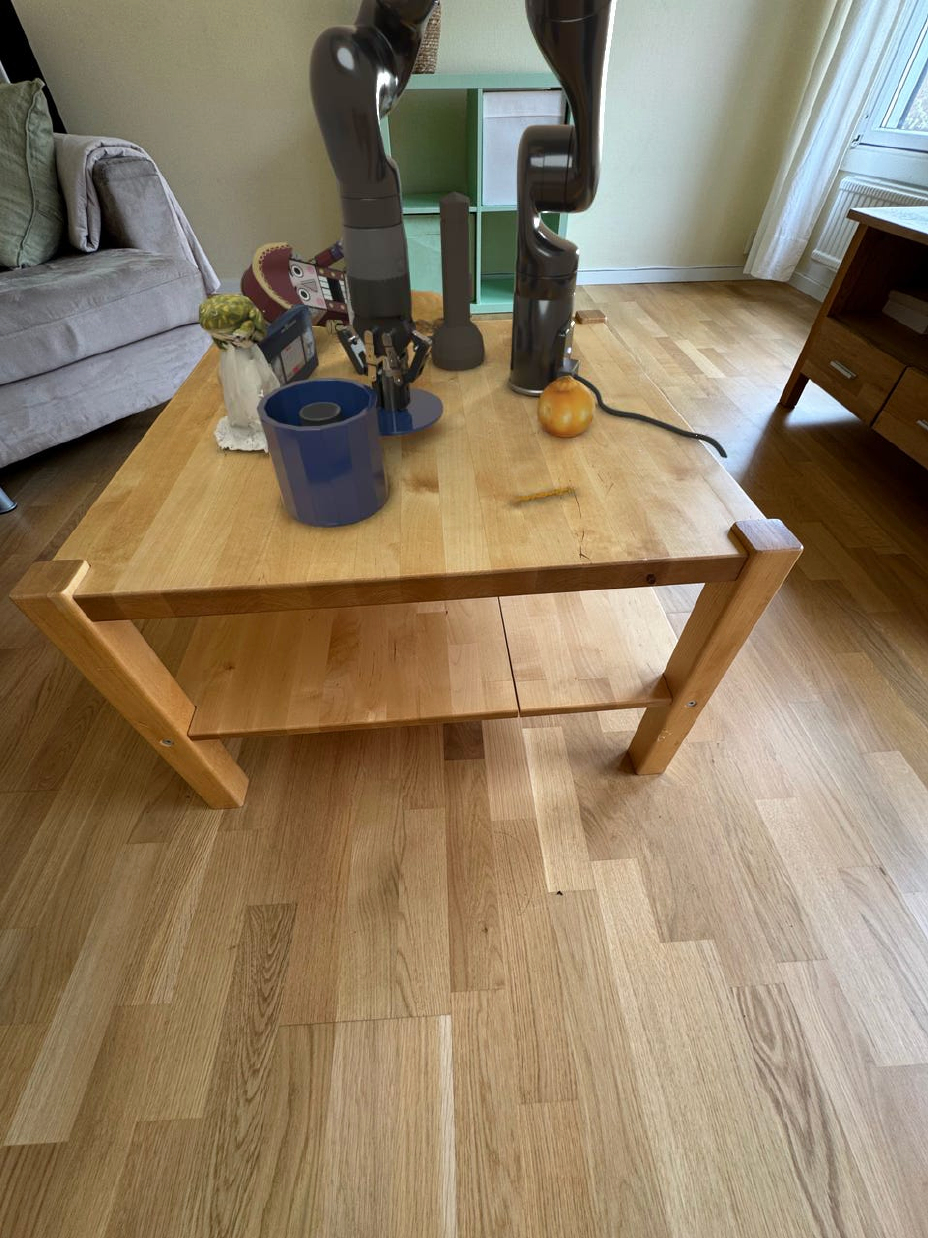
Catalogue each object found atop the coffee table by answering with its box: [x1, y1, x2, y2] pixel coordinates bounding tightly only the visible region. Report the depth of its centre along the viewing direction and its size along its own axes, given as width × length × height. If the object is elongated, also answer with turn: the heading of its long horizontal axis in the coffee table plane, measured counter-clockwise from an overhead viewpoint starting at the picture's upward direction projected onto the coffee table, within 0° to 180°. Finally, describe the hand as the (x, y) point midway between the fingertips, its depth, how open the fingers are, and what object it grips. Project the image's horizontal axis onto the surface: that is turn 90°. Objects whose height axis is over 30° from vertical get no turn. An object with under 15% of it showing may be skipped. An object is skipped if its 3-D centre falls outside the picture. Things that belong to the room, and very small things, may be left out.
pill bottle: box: [300, 402, 343, 426], centre depth 68 cm, size 6×6×11 cm
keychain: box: [514, 486, 573, 503], centre depth 72 cm, size 8×1×1 cm, turn 109°
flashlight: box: [430, 190, 486, 371], centre depth 95 cm, size 10×25×10 cm
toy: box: [239, 237, 350, 336], centre depth 102 cm, size 14×13×30 cm
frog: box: [197, 293, 280, 454], centre depth 78 cm, size 12×13×18 cm
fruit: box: [536, 376, 596, 438], centre depth 82 cm, size 8×8×8 cm
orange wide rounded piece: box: [411, 289, 474, 334], centre depth 113 cm, size 17×4×10 cm
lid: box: [379, 369, 444, 437], centre depth 79 cm, size 14×14×6 cm
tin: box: [257, 377, 389, 528], centre depth 68 cm, size 13×13×12 cm
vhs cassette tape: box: [257, 304, 320, 387], centre depth 93 cm, size 18×3×10 cm, turn 167°
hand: (392, 406), depth 80 cm, fingers closed on lid, 2 cm apart
